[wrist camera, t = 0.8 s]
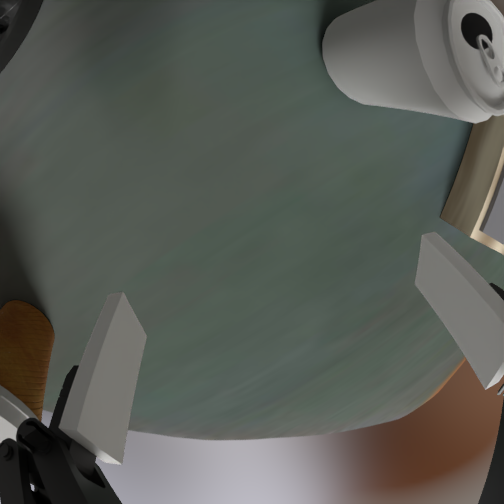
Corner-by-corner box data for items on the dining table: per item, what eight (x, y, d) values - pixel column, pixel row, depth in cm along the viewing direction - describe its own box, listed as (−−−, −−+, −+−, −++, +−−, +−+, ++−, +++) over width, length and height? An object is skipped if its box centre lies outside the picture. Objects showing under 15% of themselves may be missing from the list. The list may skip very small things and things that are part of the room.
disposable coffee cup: (-23, 308, 20) (-71, 395, 9) (20, 267, 19) (-46, 372, 9) (36, 369, 25) (11, 460, 14) (88, 342, 24) (64, 455, 14)
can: (377, 5, 15) (498, -22, 5) (413, 87, 19) (537, 108, 9) (298, 29, 16) (412, -25, 5) (344, 120, 20) (473, 154, 9)
